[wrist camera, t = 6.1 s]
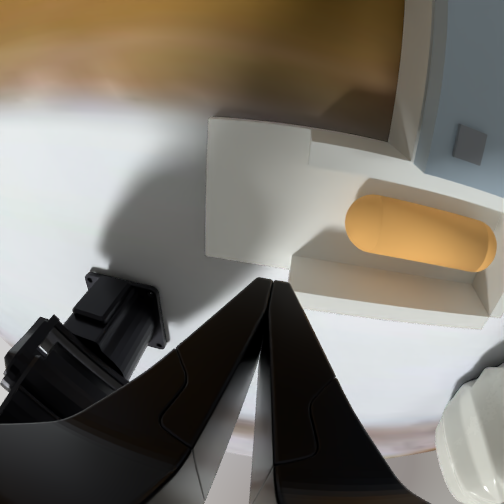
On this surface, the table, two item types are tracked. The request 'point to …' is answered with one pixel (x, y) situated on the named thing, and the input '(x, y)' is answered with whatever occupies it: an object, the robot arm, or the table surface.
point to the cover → (465, 96)
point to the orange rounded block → (419, 233)
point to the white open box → (347, 207)
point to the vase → (474, 440)
